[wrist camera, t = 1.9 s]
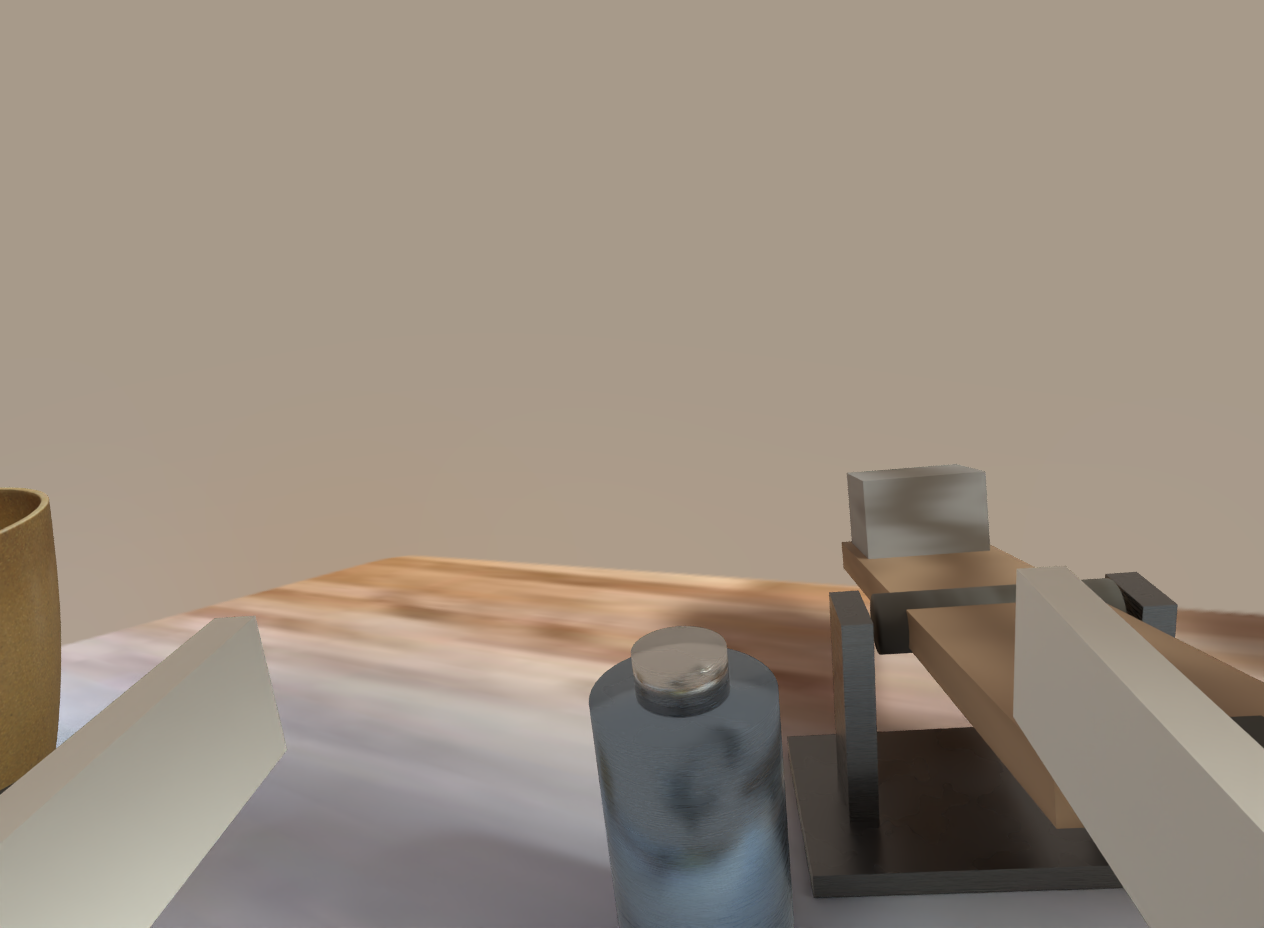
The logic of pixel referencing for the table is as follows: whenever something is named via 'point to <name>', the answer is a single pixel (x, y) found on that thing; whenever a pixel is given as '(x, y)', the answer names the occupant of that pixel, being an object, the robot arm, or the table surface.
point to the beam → (979, 609)
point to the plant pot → (27, 633)
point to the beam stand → (930, 790)
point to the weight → (693, 785)
